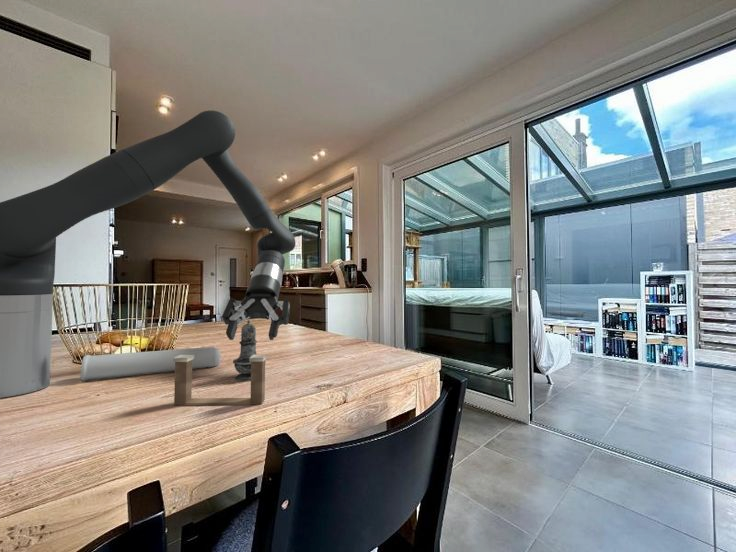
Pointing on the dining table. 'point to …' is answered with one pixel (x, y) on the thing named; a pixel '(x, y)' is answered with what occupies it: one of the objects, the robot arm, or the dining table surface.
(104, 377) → the tube
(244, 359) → the salt shaker
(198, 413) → the dining table surface
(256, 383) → the walnut gate
